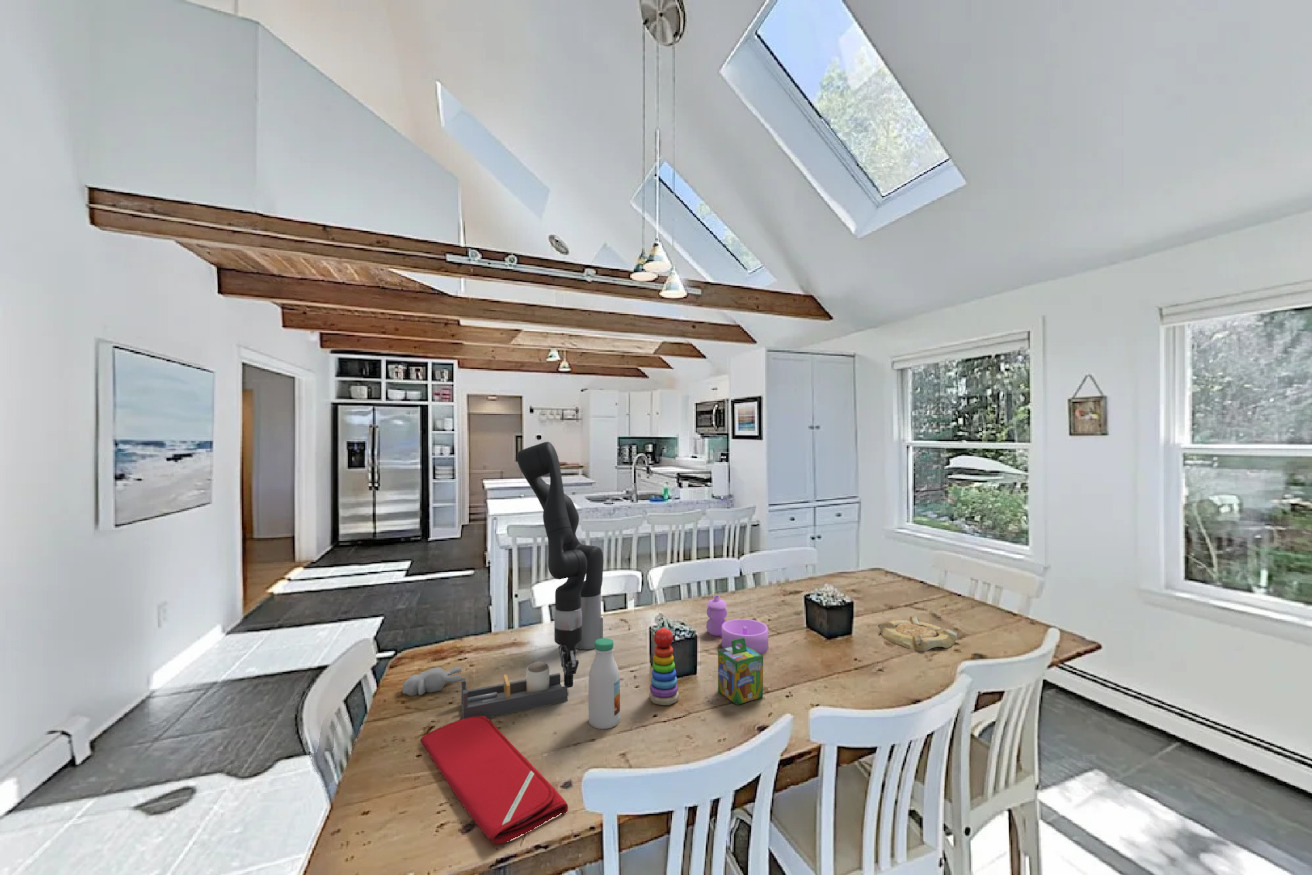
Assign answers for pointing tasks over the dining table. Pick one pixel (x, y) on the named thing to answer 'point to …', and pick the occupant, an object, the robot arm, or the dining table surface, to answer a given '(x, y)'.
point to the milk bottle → (604, 687)
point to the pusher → (494, 695)
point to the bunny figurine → (430, 681)
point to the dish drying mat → (492, 778)
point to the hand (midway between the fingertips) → (568, 686)
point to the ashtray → (917, 634)
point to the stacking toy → (663, 670)
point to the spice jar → (537, 677)
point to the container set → (735, 628)
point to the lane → (511, 698)
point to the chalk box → (740, 673)
